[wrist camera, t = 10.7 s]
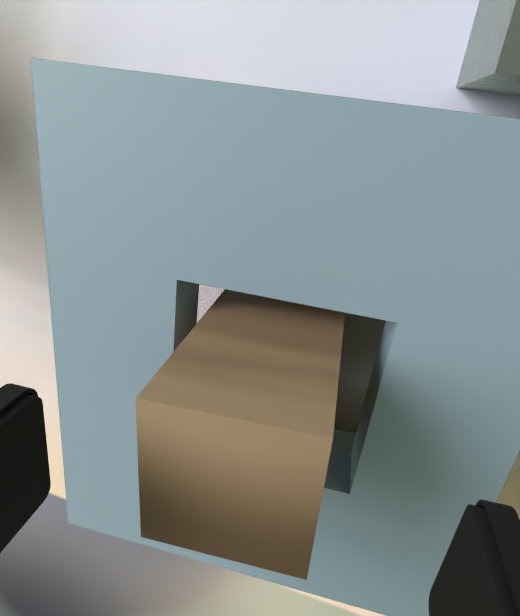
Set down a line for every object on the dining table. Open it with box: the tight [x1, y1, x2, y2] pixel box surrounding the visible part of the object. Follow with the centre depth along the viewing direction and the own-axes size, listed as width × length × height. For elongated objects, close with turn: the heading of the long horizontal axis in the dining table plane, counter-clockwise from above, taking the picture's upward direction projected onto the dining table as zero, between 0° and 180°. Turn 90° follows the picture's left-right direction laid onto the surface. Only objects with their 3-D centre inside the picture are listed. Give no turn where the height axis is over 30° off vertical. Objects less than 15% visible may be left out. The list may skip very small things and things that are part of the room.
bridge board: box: [30, 58, 520, 616], centre depth 16 cm, size 16×14×7 cm
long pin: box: [135, 289, 345, 580], centre depth 14 cm, size 4×4×11 cm
